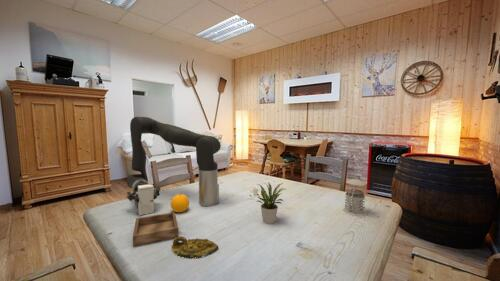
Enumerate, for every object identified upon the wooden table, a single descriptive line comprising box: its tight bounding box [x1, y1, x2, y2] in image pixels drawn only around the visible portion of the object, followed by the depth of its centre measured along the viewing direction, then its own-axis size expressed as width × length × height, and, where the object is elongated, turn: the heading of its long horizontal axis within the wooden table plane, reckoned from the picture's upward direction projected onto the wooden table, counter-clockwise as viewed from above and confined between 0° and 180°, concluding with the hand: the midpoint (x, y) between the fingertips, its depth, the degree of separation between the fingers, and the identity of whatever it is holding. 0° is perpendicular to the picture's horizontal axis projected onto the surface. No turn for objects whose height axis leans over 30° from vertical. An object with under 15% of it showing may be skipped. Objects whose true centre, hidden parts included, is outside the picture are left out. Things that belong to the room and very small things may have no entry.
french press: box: [342, 158, 367, 218], centre depth 95 cm, size 10×12×25 cm
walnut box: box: [132, 211, 179, 248], centre depth 77 cm, size 14×14×4 cm
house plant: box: [255, 181, 286, 225], centre depth 87 cm, size 14×14×16 cm
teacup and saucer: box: [250, 186, 261, 198], centre depth 118 cm, size 9×8×4 cm
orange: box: [170, 193, 190, 213], centre depth 96 cm, size 8×8×8 cm
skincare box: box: [137, 183, 155, 216], centre depth 93 cm, size 6×4×12 cm
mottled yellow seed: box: [171, 236, 219, 259], centre depth 68 cm, size 9×5×15 cm
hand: (146, 198), depth 91 cm, fingers closed on skincare box, 6 cm apart
